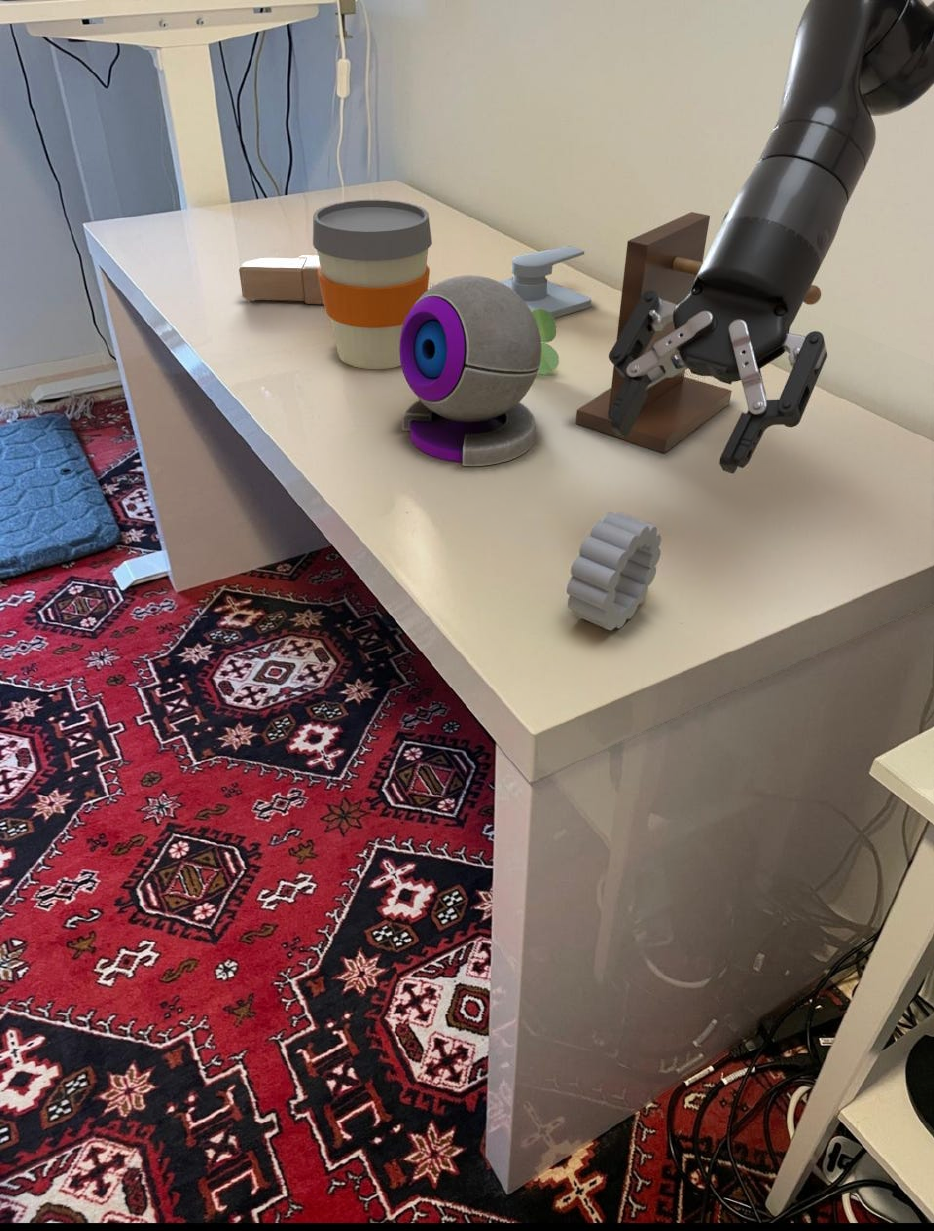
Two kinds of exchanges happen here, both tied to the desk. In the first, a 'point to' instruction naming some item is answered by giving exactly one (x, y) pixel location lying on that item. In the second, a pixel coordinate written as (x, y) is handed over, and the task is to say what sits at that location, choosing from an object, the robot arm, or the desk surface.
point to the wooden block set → (282, 279)
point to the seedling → (546, 340)
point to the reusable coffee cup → (371, 274)
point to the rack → (670, 271)
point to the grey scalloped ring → (613, 570)
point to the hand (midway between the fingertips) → (669, 449)
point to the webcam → (470, 371)
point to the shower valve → (545, 282)
